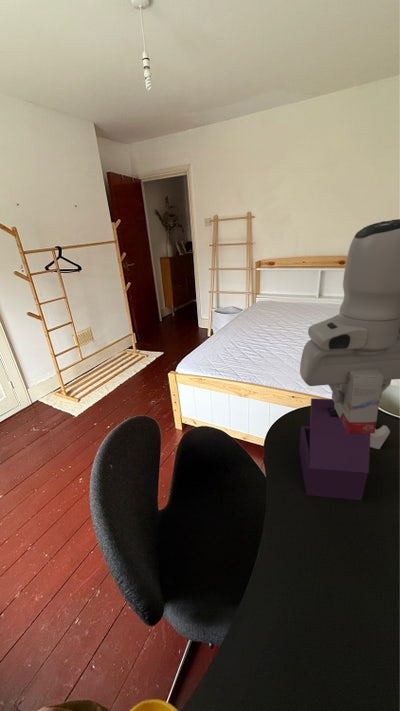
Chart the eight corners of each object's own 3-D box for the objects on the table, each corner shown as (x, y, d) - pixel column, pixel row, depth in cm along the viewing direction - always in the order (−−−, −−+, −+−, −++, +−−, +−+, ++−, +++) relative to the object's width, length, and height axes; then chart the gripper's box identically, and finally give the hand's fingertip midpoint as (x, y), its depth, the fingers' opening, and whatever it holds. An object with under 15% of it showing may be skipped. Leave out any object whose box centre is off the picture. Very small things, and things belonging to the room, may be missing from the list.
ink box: (375, 435, 52) (387, 377, 47) (344, 434, 53) (353, 377, 48) (358, 406, 60) (368, 353, 55) (332, 405, 61) (338, 354, 56)
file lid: (311, 398, 68) (314, 403, 64) (370, 400, 66) (379, 405, 61) (309, 466, 70) (312, 476, 65) (367, 471, 67) (375, 482, 63)
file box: (299, 449, 87) (301, 426, 83) (345, 453, 85) (349, 428, 81) (306, 495, 73) (309, 468, 70) (361, 500, 71) (367, 473, 67)
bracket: (377, 451, 85) (390, 431, 82) (353, 445, 86) (364, 425, 82) (362, 422, 97) (373, 404, 94) (341, 417, 97) (350, 399, 94)
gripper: (417, 317, 51) (401, 386, 57) (299, 327, 52) (295, 394, 58) (445, 330, 46) (424, 405, 52) (312, 341, 46) (306, 414, 52)
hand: (355, 399), depth 55 cm, fingers closed on ink box, 5 cm apart
